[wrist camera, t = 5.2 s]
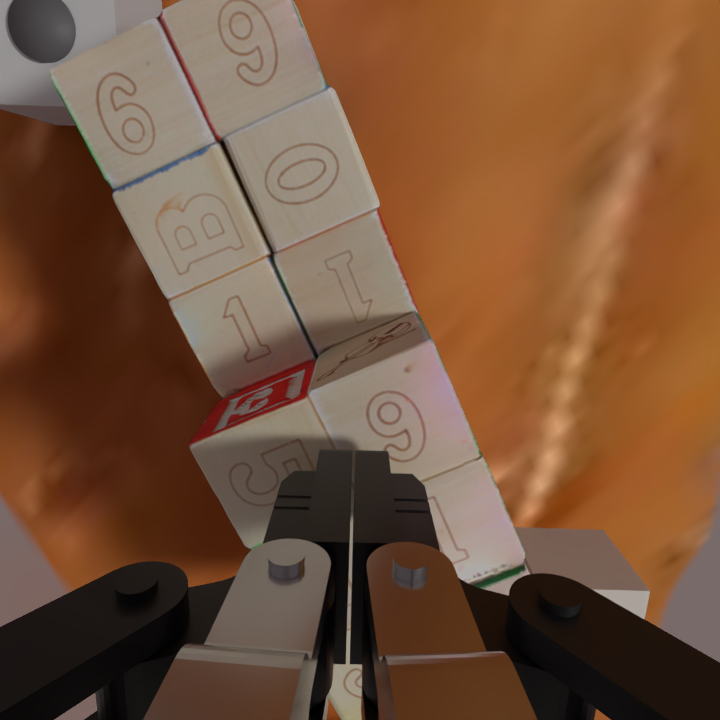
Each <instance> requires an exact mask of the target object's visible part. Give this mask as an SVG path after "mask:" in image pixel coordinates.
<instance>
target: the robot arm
mask: <svg viewBox="0 0 720 720" xmlns="http://www.w3.org/2000/svg"><path fill="white" fill-rule="evenodd" d="M351 483H352V450H333V449H320V450H319V455H318V461H317V467H316V471H293V472H292V473H291V474H290V475H288V476H287V477H286V478H285V479H284V480H283V481H281V484H280V487H279V490H278V494H277V498H276V500H275V504H274V509H273V511H272V514H271V517H270V521H269V524H268V527H267V531H266V534H265V537H264V541H263V544H262V545H259V546H258V547H256V548H254V549H253V550H252V551H250V552H249V553H248V554H247V555H246V557H245V558H244V560H243V562H242V564H241V566H240V568H239V570H238V573H237V575H236V576H234V577H231V578H229V579H226V580H223V581H219V582H215V583H210V584H205V585H200V586H194V587H189V588H188V579H187V576H186V575H185V573H184V572H183V571H182V570H181V569H180V568H178V567H176V566H175V565H172V564H169V563H164V562H154V561H153V562H141V563H135V564H131V565H127V566H124V567H121V568H119V569H117V570H114V571H112V572H110V573H108V574H106V575H104V576H102V577H100V578H98V579H96V580H94V581H92V582H90V583H88V584H86V585H84V586H82V587H80V588H78V589H76V590H74V591H72V592H70V593H68V594H66V595H64V596H62V597H60V598H58V599H56V600H54V601H52V602H50V603H48V604H46V605H44V606H42V607H40V608H38V609H36V610H34V611H32V612H30V613H28V614H26V615H24V616H22V617H20V618H18V619H16V620H14V621H12V622H10V623H8V624H6V625H3V626H2V627H0V720H54V719H56V718H57V717H59V716H60V715H62V714H63V713H65V712H66V711H68V710H69V709H71V708H72V707H74V706H75V705H77V704H78V703H80V702H81V701H83V700H84V699H86V698H87V697H89V696H91V695H92V694H93V693H95V694H96V702H97V711H96V712H95V713H93V714H92V715H90V716H89V717H87V718H86V719H85V720H326V718H327V711H328V693H329V691H330V689H331V686H332V681H333V666H334V664H346V641H347V610H348V580H349V549H350V517H351ZM350 664H358V665H362V694H361V716H362V720H594V717H595V711H596V709H598V710H599V711H600V712H602V713H603V714H604V715H606V716H607V717H608V718H610V719H611V720H720V663H719V662H717V661H716V660H714V659H712V658H710V657H709V656H707V655H705V654H703V653H702V652H700V651H698V650H697V649H695V648H693V647H691V646H690V645H688V644H686V643H684V642H683V641H681V640H679V639H677V638H676V637H674V636H672V635H671V634H669V633H667V632H665V631H663V630H662V629H660V628H658V627H657V626H655V625H653V624H651V623H650V622H648V621H646V620H644V619H643V618H641V617H639V616H637V615H636V614H634V613H632V612H630V611H629V610H627V609H625V608H623V607H622V606H620V605H618V604H616V603H615V602H613V601H611V600H610V599H608V598H606V597H604V596H603V595H601V594H599V593H597V592H596V591H594V590H592V589H590V588H589V587H587V586H585V585H583V584H581V583H579V582H577V581H575V580H572V579H570V578H567V577H564V576H560V575H555V574H547V573H536V574H529V575H526V576H523V577H521V578H519V579H517V580H516V581H515V582H514V583H513V584H512V585H511V588H510V590H509V595H505V594H501V593H497V592H493V591H489V590H485V589H481V588H478V587H476V586H473V585H471V584H468V583H467V582H465V581H463V580H461V579H460V578H458V576H457V573H456V570H455V568H454V566H453V564H452V562H451V561H450V559H449V558H448V557H447V556H446V555H445V554H443V553H442V552H440V548H439V544H438V539H437V535H436V531H435V527H434V523H433V518H432V514H431V510H430V506H429V502H428V497H427V493H426V489H425V485H423V484H422V483H421V482H420V481H419V480H418V479H417V478H416V477H415V476H414V475H413V474H403V473H391V470H390V461H389V453H388V451H372V450H355V479H354V512H353V548H352V590H351V632H350Z"/></svg>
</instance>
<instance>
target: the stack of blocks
mask: <svg viewBox="0 0 720 720" xmlns="http://www.w3.org/2000/svg"><path fill="white" fill-rule="evenodd" d="M49 74H50V77H51V80H52V83H53V85H54V86H55V88H56V90H57V92H58V93H59V95H60V97H61V99H62V101H63V103H64V105H65V106H66V108H67V110H68V112H69V114H70V116H71V118H72V120H73V121H74V123H75V125H76V127H77V129H78V131H79V132H80V134H81V136H82V138H83V140H84V142H85V144H86V146H87V148H88V150H89V152H90V154H91V155H92V157H93V159H94V161H95V163H96V165H97V166H98V168H99V169H100V171H101V173H102V175H103V177H104V179H105V180H106V181H107V183H108V184H109V185H110V186H111V188H112V189H113V193H112V197H113V200H114V202H115V204H116V206H117V208H118V210H119V212H120V214H121V215H122V217H123V219H124V221H125V223H126V225H127V227H128V229H129V231H130V232H131V234H132V236H133V238H134V240H135V242H136V244H137V246H138V248H139V249H140V251H141V253H142V255H143V257H144V259H145V260H146V262H147V264H148V266H149V268H150V269H151V271H152V273H153V275H154V277H155V279H156V281H157V283H158V285H159V287H160V289H161V291H162V293H163V294H164V296H165V297H166V298H167V299H168V301H169V305H170V308H171V311H172V313H173V316H174V317H175V319H176V320H177V322H178V324H179V326H180V328H181V330H182V332H183V334H184V336H185V338H186V339H187V341H188V343H189V345H190V347H191V348H192V350H193V352H194V354H195V355H196V357H197V359H198V361H199V363H200V364H201V366H202V368H203V370H204V372H205V374H206V375H207V377H208V379H209V381H210V383H211V384H212V386H213V387H214V388H215V390H216V391H217V392H218V393H219V394H220V395H221V396H222V397H223V399H221V400H220V401H219V402H218V403H217V404H216V405H215V406H214V408H213V409H212V411H211V413H210V414H209V416H208V417H207V419H206V420H205V421H204V423H203V424H202V425H201V426H200V428H199V430H198V431H197V432H196V434H195V435H194V437H193V438H192V440H191V442H190V444H189V448H190V450H191V452H192V454H193V456H194V458H195V460H196V461H197V463H198V465H199V467H200V468H201V470H202V472H203V474H204V475H205V477H206V479H207V481H208V482H209V484H210V486H211V488H212V489H213V491H214V493H215V494H216V496H217V497H218V499H219V501H220V503H221V504H222V506H223V508H224V510H225V512H226V514H227V516H228V518H229V519H230V521H231V523H232V525H233V526H234V528H235V530H236V532H237V533H238V535H239V537H240V539H241V540H242V542H243V544H244V546H246V547H247V548H249V549H251V551H252V550H253V549H254V548H256V547H258V546H259V545H262V544H263V541H264V537H265V534H266V531H267V527H268V524H269V521H270V517H271V514H272V511H273V509H274V504H275V500H276V498H277V494H278V490H279V487H280V484H281V481H283V480H284V479H285V478H286V477H287V476H288V475H290V474H291V473H292V472H293V471H316V467H317V461H318V455H319V450H320V449H333V450H352V483H351V517H350V549H349V580H348V610H347V641H346V664H334V666H333V681H332V686H331V689H330V691H329V693H328V698H329V700H330V701H331V703H332V705H333V707H334V709H335V710H336V712H337V714H338V716H339V718H340V719H341V720H362V716H361V694H362V665H358V664H350V632H351V590H352V548H353V512H354V479H355V450H372V451H388V453H389V461H390V470H391V473H403V474H413V475H414V476H415V477H416V478H417V479H418V480H419V481H420V482H421V483H422V484H423V485H425V489H426V493H427V497H428V502H429V506H430V510H431V514H432V518H433V523H434V527H435V531H436V535H437V539H438V544H439V548H440V552H442V553H443V554H445V555H446V556H447V557H448V558H449V559H450V561H451V562H452V564H453V566H454V568H455V570H456V573H457V576H458V578H460V579H461V580H463V581H465V582H467V583H468V584H471V585H473V586H476V587H478V588H481V589H485V590H489V591H493V592H497V593H501V594H505V595H509V590H510V588H511V585H512V584H513V583H514V582H515V581H516V580H517V579H519V578H521V577H523V576H526V575H529V574H530V573H529V571H528V569H527V567H526V565H525V562H524V559H525V557H526V553H525V550H524V548H523V546H522V543H521V541H520V538H519V536H518V534H517V532H516V530H515V528H514V525H513V523H512V520H511V518H510V516H509V513H508V511H507V508H506V506H505V504H504V501H503V499H502V497H501V494H500V492H499V490H498V487H497V485H496V483H495V480H494V478H493V476H492V474H491V471H490V469H489V467H488V465H487V463H486V461H485V459H484V457H483V455H482V454H481V452H480V450H479V447H478V444H477V442H476V439H475V437H474V435H473V432H472V430H471V428H470V425H469V423H468V421H467V418H466V416H465V414H464V412H463V409H462V407H461V405H460V402H459V400H458V397H457V395H456V393H455V390H454V388H453V386H452V383H451V381H450V379H449V376H448V374H447V372H446V369H445V367H444V365H443V363H442V360H441V358H440V356H439V353H438V350H437V348H436V345H435V343H434V342H433V340H432V338H431V337H430V335H429V333H428V331H427V329H426V327H425V325H424V323H423V321H422V319H421V317H420V315H419V311H418V309H417V306H416V304H415V302H414V299H413V297H412V294H411V292H410V289H409V286H408V284H407V281H406V279H405V276H404V274H403V271H402V269H401V266H400V264H399V261H398V259H397V256H396V254H395V251H394V249H393V246H392V244H391V241H390V239H389V236H388V233H387V231H386V228H385V226H384V223H383V221H382V219H381V216H380V213H379V206H380V202H379V199H378V197H377V194H376V191H375V189H374V186H373V184H372V181H371V178H370V176H369V173H368V171H367V168H366V166H365V163H364V160H363V158H362V155H361V153H360V150H359V148H358V145H357V143H356V140H355V138H354V135H353V133H352V130H351V128H350V125H349V123H348V121H347V118H346V116H345V113H344V111H343V108H342V106H341V103H340V101H339V98H338V96H337V93H336V91H335V90H334V89H333V88H331V87H329V86H328V85H327V84H326V82H325V79H324V77H323V74H322V71H321V69H320V66H319V63H318V61H317V58H316V55H315V53H314V50H313V48H312V45H311V42H310V40H309V37H308V34H307V32H306V29H305V27H304V24H303V21H302V19H301V16H300V13H299V11H298V8H297V6H296V5H295V3H294V1H293V0H181V1H179V2H177V3H175V4H173V5H171V6H169V7H167V8H165V9H163V10H162V12H161V13H160V15H159V17H156V18H153V19H150V20H147V21H145V22H143V23H141V24H139V25H137V26H135V27H133V28H131V29H128V30H126V31H124V32H122V33H120V34H118V35H116V36H114V37H112V38H110V39H108V40H106V41H104V42H102V43H101V44H99V45H97V46H96V47H94V48H92V49H90V50H87V51H85V52H82V53H80V54H79V55H77V56H75V57H73V58H71V59H69V60H67V61H65V62H63V63H61V64H59V65H57V66H55V67H53V68H52V69H50V70H49Z"/></svg>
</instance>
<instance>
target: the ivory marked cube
mask: <svg viewBox="0 0 720 720" xmlns="http://www.w3.org/2000/svg"><path fill="white" fill-rule="evenodd" d="M514 528H515V530H516V532H517V534H518V536H519V538H520V541H521V543H522V546H523V548H524V550H525V553H526V557H525V559H524V562H525V565H526V567H527V569H528V571H529V573H530V574H536V573H547V574H555V575H560V576H564V577H567V578H570V579H572V580H575V581H577V582H579V583H581V584H583V585H585V586H587V587H589V588H590V589H592V590H594V591H596V592H597V593H599V594H601V595H603V596H604V597H606V598H608V599H610V600H611V601H613V602H615V603H616V604H618V605H620V606H622V607H623V608H625V609H627V610H629V611H630V612H632V613H634V614H636V615H637V616H639V617H641V618H643V619H645V614H646V609H647V604H648V599H649V594H650V590H649V589H648V588H647V586H646V585H645V584H644V582H643V581H642V580H641V578H640V577H639V576H638V575H637V573H636V572H635V571H634V569H633V568H632V567H631V565H630V564H629V563H628V561H627V560H626V559H625V557H624V556H623V555H622V554H621V552H620V551H619V550H618V548H617V547H616V546H615V544H614V543H613V542H612V540H611V539H610V538H609V537H608V535H607V534H606V533H605V531H604V530H589V529H555V528H522V527H514Z"/></svg>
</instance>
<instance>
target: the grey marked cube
mask: <svg viewBox="0 0 720 720" xmlns="http://www.w3.org/2000/svg"><path fill="white" fill-rule="evenodd" d="M161 12H162V1H161V0H0V109H1V110H5V111H8V112H12V113H15V114H19V115H22V116H26V117H29V118H33V119H36V120H40V121H43V122H47V123H50V124H54V125H68V126H76V125H75V123H74V121H73V120H72V118H71V116H70V114H69V112H68V110H67V108H66V106H65V105H64V103H63V101H62V99H61V97H60V95H59V93H58V92H57V90H56V88H55V86H54V85H53V83H52V80H51V77H50V74H49V70H50V69H52V68H53V67H55V66H57V65H59V64H61V63H63V62H65V61H67V60H69V59H71V58H73V57H75V56H77V55H79V54H80V53H82V52H85V51H87V50H90V49H92V48H94V47H96V46H97V45H99V44H101V43H102V42H104V41H106V40H108V39H110V38H112V37H114V36H116V35H118V34H120V33H122V32H124V31H126V30H128V29H131V28H133V27H135V26H137V25H139V24H141V23H143V22H145V21H147V20H150V19H153V18H156V17H159V15H160V13H161Z"/></svg>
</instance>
